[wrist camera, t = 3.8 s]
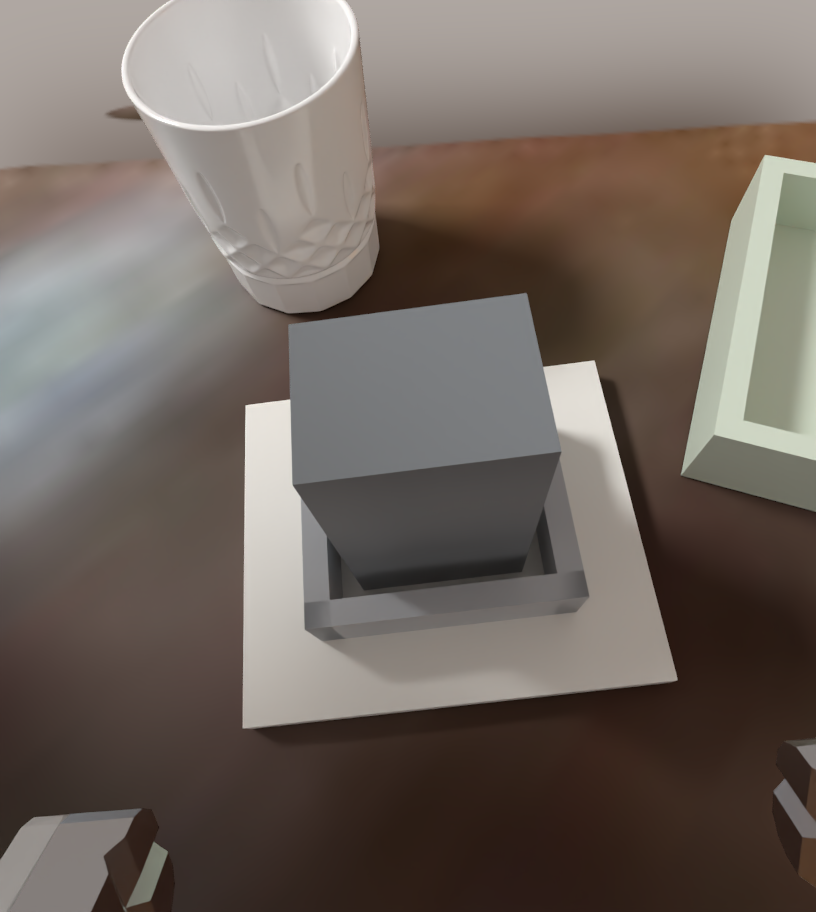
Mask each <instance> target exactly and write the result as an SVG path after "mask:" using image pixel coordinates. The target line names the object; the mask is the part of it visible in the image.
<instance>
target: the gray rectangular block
mask: <svg viewBox="0 0 816 912" xmlns="http://www.w3.org/2000/svg"><path fill="white" fill-rule="evenodd" d="M289 366H290V407H291V449H292V485H293V487H294V488H295V490H296V491H297V492H298V494H299V495H300V497H301V498H302V500H303V501H304V503H305V504H306V506H307V507H308V509H309V510H310V512H311V513H312V515H313V516H314V518H315V519H316V521H317V522H318V523H319V525H320V526H321V528H322V529H323V531H324V532H325V534H326V535H327V537H328V538H329V540H330V541H331V543H332V544H333V546H334V547H335V549H336V550H337V551H338V553H339V554H340V556H341V557H342V559H343V560H344V562H345V563H346V565H347V566H348V568H349V569H350V571H351V572H352V574H353V575H354V577H355V578H356V580H357V581H358V582H359V584H360V585H361V587H362V588H363V590H372V589H381V588H389V587H398V586H406V585H415V584H423V583H432V582H440V581H449V580H457V579H466V578H475V577H483V576H492V575H500V574H509V573H517V572H522V570H523V567H524V564H525V561H526V558H527V555H528V552H529V549H530V546H531V543H532V540H533V537H534V534H535V531H536V528H537V525H538V522H539V519H540V516H541V513H542V510H543V507H544V503H545V500H546V497H547V494H548V491H549V488H550V485H551V482H552V479H553V476H554V473H555V470H556V467H557V464H558V461H559V458H560V455H561V452H562V451H561V446H560V442H559V437H558V433H557V428H556V424H555V419H554V415H553V410H552V406H551V401H550V396H549V392H548V387H547V383H546V378H545V374H544V369H543V365H542V360H541V356H540V351H539V347H538V342H537V337H536V333H535V328H534V324H533V319H532V315H531V310H530V306H529V301H528V297H527V293H523V294H516V295H508V296H501V297H493V298H485V299H478V300H470V301H463V302H455V303H448V304H440V305H433V306H425V307H418V308H410V309H403V310H395V311H388V312H380V313H373V314H365V315H358V316H350V317H343V318H335V319H327V320H320V321H312V322H305V323H297V324H290V325H289Z"/></svg>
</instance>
